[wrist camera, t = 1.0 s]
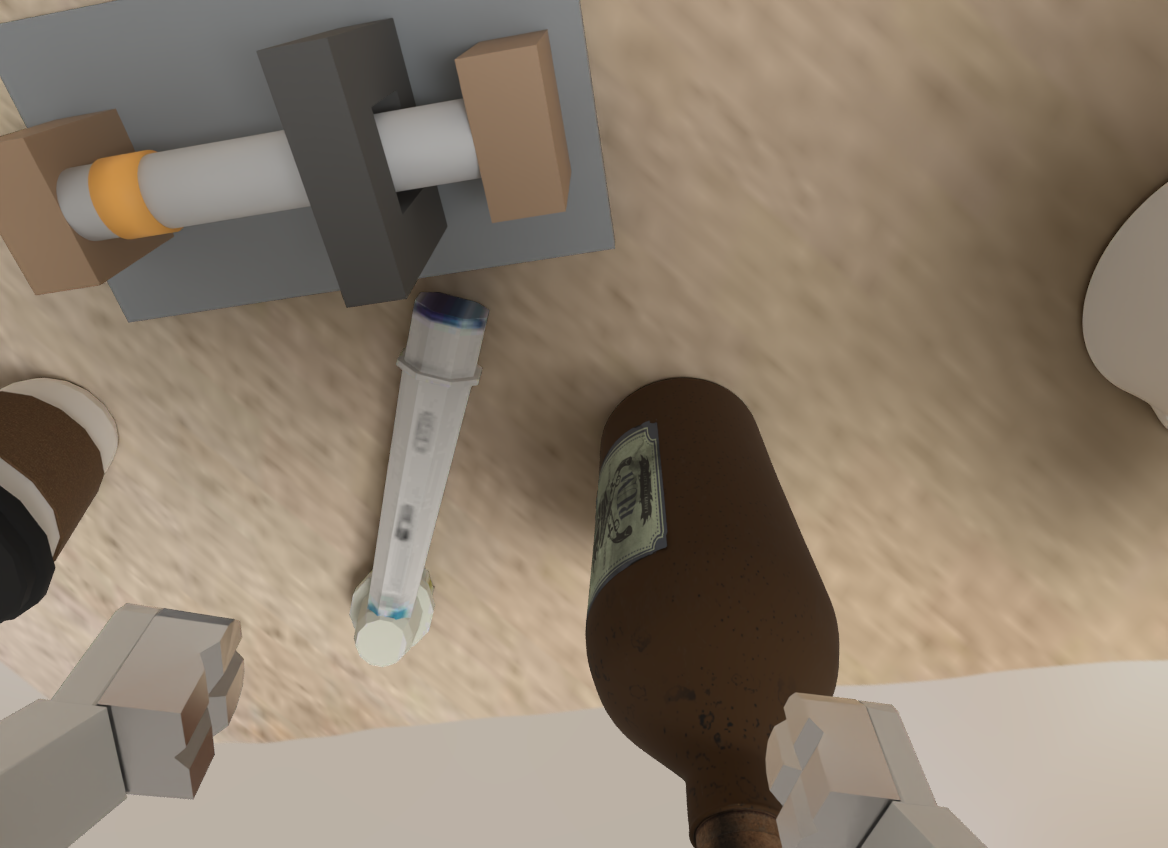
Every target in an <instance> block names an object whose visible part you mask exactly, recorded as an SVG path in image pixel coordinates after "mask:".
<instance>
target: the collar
mask: <svg viewBox="0 0 1168 848" xmlns="http://www.w3.org/2000/svg"><path fill="white" fill-rule="evenodd" d="M256 52H257V55H258V58H259V61H260V64H261V67H262V69H263V72H264V75H265V78H266V81H267V84H268V86H269V89H270V92H271V95H272V98H273V101H274V103H275V106H276V109H277V112H278V115H279V118H280V120H281V123H282V126H283V129H284V132H285V135H286V137H287V140H288V143H289V146H290V149H291V152H292V154H293V157H294V160H295V163H296V166H297V169H298V171H299V174H300V177H301V180H302V183H303V186H304V188H305V191H306V194H307V197H308V200H309V203H310V205H311V208H312V211H313V214H314V217H315V220H316V222H317V225H318V228H319V231H320V234H321V237H322V239H323V242H324V245H325V248H326V251H327V254H328V256H329V259H330V262H331V265H332V268H333V271H334V273H335V276H336V279H337V282H338V285H339V288H340V290H341V293H342V296H343V299H344V302H345V305H346V307H347V308H348V307H355V306H362V305H368V304H375V303H382V302H388V301H395V300H402V299H407V297H408V296H409V294H410V292H411V290H412V289H413V287H414V285H415V283H416V282H417V280H418V278H419V276H420V274H421V273H422V271H423V269H424V267H425V266H426V264H427V262H428V260H429V259H430V257H431V255H432V253H433V252H434V250H435V248H436V246H437V244H438V243H439V241H440V239H441V237H442V236H443V234H444V232H445V230H446V229H447V227H448V226H447V222H446V218H445V214H444V211H443V207H442V203H441V199H440V195H439V192H438V188H437V185H435V186H429V187H423V188H417V189H411V190H405V191H399V192H396V190H395V187H394V184H393V180H392V177H391V173H390V170H389V166H388V163H387V159H386V156H385V153H384V149H383V146H382V142H381V139H380V135H379V132H378V129H377V125H376V122H375V118H374V115H373V114H377V113H383V112H389V111H394V110H400V109H406V108H411V107H416V104H415V100H414V96H413V92H412V88H411V85H410V81H409V77H408V73H407V69H406V65H405V62H404V58H403V54H402V50H401V46H400V43H399V39H398V35H397V31H396V27H395V23H394V20H393V18H389V19H384V20H378V21H373V22H368V23H362V24H357V25H352V26H347V27H341V28H337V29H333V30H330V31H326V32H322V33H319V34H315V35H312V36H308V37H304V38H301V39H297V40H294V41H290V42H287V43H283V44H279V45H276V46H272V47H269V48H265V49H261V50H258V51H256Z"/></svg>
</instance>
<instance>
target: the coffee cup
mask: <svg viewBox="0 0 1168 848" xmlns="http://www.w3.org/2000/svg"><path fill="white" fill-rule="evenodd" d="M117 447H118V434H117V428H116V423H115V420H114V419H113V417H112V416H111V414H110V413H109V411H108V409H107V408H106V406H105V405H104V404H103V403H102V402H101V401H99V400H98V399H97V398H96V397H95V396H93V395H92V394H91V393H90V392H89V391H87V390H85V389H83V388H81V387H79V386H77V385H75V384H72V383H70V382H68V381H64V380H57V379H51V378H35V379H30V380H25V381H20V382H15V383H12V384H10V385H8V386H6V387H4V388H1V389H0V623H2V622H3V621H6V620H12V619H15V618H16V617H18V616H19V615H21V614H22V613H24V612H25V611H27V610H28V609H30V608H31V607H33V606H34V605H36V604H37V603H39V601H40V600H41V599H42V598H43V597H44V596H45V595H46V593H47V590H48V587H49V585H50V582H51V579H52V576H53V573H54V571H55V564H54V561H55V560H56V559H57V557H58V556H59V554H60V552H61V551H62V549H63V547H64V546H65V544H66V543H67V541H68V539H69V538H70V536H71V534H72V533H73V531H74V530H75V528H76V526H77V525H78V523H79V521H80V520H81V518H82V517H83V515H84V513H85V512H86V510H87V508H88V507H89V505H90V503H91V502H92V500H93V499H94V497H95V495H96V494H97V492H98V490H99V487H100V484H101V482H102V479H103V476H104V474H105V473H106V471H107V469H108V468H109V466H110V465H111V463H112V461H113V458H114V455H115V453H116V450H117Z"/></svg>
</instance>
